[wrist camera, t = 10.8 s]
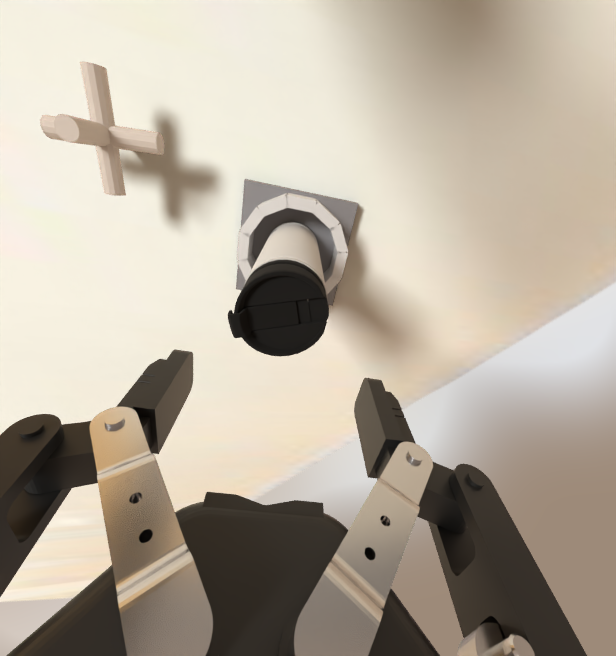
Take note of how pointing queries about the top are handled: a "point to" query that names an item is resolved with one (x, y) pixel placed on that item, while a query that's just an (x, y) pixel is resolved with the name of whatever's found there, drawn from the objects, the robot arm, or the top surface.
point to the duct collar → (293, 205)
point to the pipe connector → (102, 130)
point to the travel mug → (283, 294)
